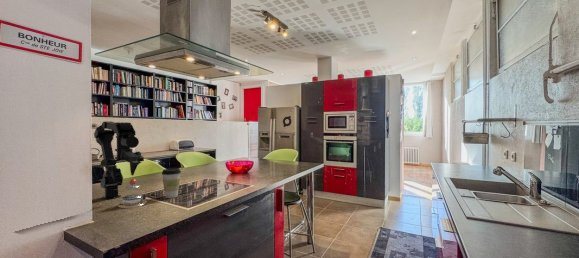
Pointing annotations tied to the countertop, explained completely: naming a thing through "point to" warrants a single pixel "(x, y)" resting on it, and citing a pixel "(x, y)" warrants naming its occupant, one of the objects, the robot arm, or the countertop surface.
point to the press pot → (133, 201)
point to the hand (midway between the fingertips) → (123, 177)
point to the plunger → (132, 185)
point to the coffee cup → (171, 182)
